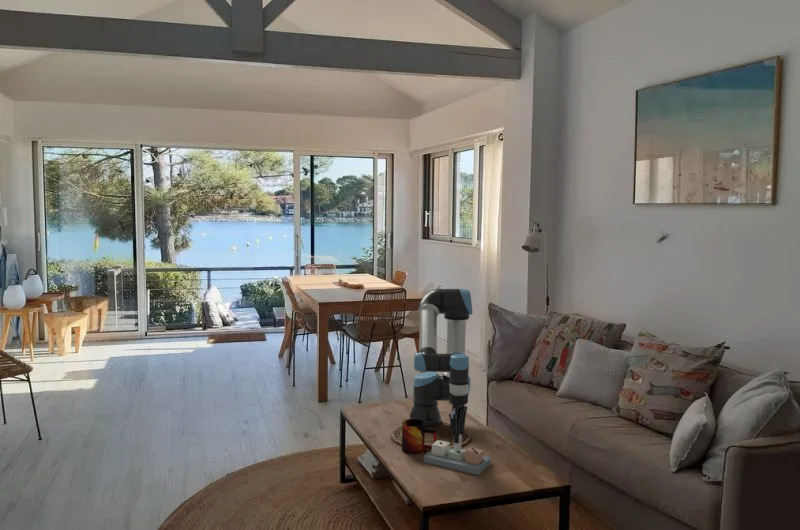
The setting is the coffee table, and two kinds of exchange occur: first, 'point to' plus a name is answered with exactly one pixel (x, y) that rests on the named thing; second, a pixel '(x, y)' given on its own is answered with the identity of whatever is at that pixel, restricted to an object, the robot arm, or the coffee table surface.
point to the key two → (457, 454)
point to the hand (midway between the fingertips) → (457, 449)
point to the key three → (474, 456)
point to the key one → (440, 448)
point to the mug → (415, 436)
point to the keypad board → (457, 463)
